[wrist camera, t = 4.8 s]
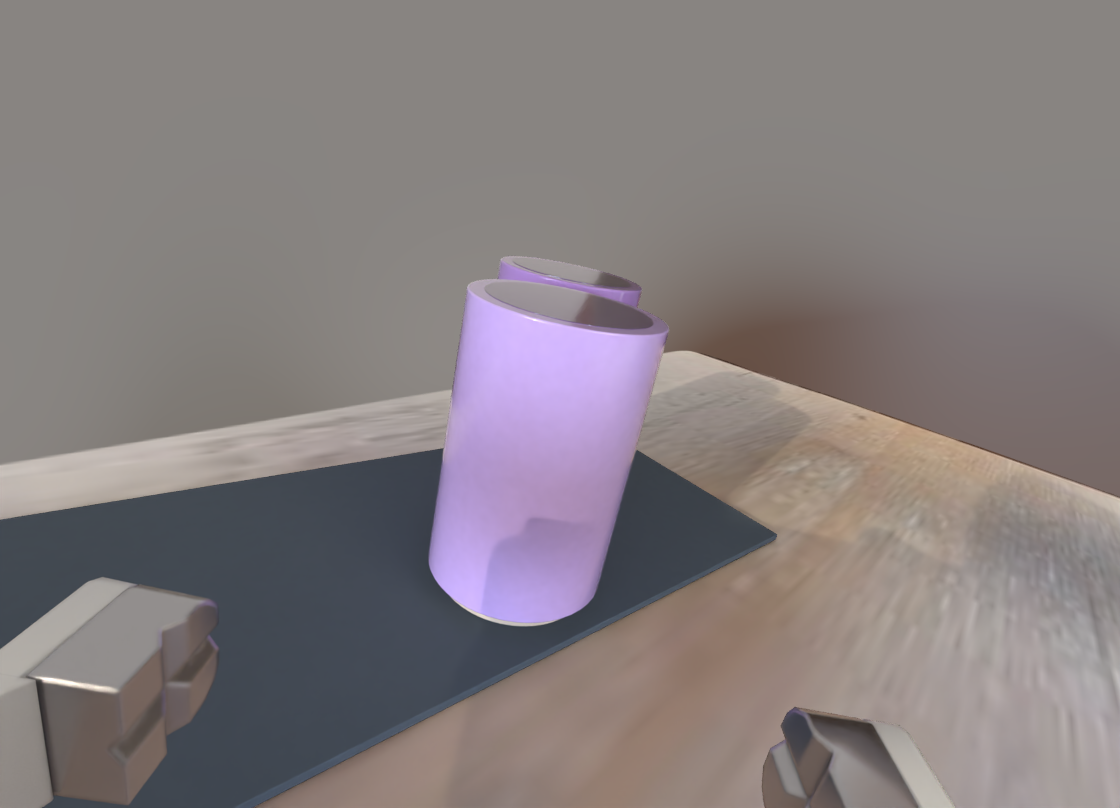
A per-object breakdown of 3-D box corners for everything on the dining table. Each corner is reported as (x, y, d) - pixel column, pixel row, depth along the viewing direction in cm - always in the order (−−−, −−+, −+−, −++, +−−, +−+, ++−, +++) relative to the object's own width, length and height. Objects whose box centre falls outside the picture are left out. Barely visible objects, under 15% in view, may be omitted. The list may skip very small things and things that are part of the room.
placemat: (592, 428, 36) (593, 424, 36) (775, 539, 27) (777, 534, 27) (-211, 562, 15) (-214, 553, 15) (-489, 1189, 7) (-500, 1178, 7)
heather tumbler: (538, 440, 32) (576, 261, 28) (616, 494, 28) (671, 293, 24) (442, 456, 28) (472, 250, 24) (517, 523, 24) (566, 286, 20)
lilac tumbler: (527, 510, 25) (575, 283, 21) (630, 597, 21) (710, 333, 17) (395, 547, 21) (428, 272, 17) (491, 665, 17) (560, 335, 13)
